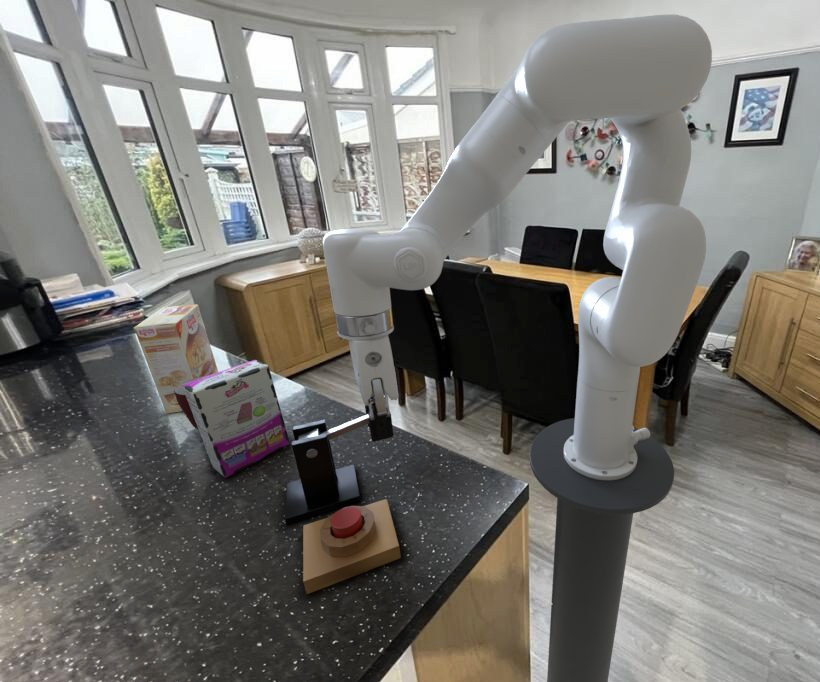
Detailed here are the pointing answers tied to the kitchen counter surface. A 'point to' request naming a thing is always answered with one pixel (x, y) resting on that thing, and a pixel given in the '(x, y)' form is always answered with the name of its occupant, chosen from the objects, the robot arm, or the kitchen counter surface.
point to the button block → (348, 548)
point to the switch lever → (339, 428)
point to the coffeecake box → (175, 350)
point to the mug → (185, 402)
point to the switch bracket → (318, 478)
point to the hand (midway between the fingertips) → (380, 430)
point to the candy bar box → (237, 416)
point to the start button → (346, 522)
